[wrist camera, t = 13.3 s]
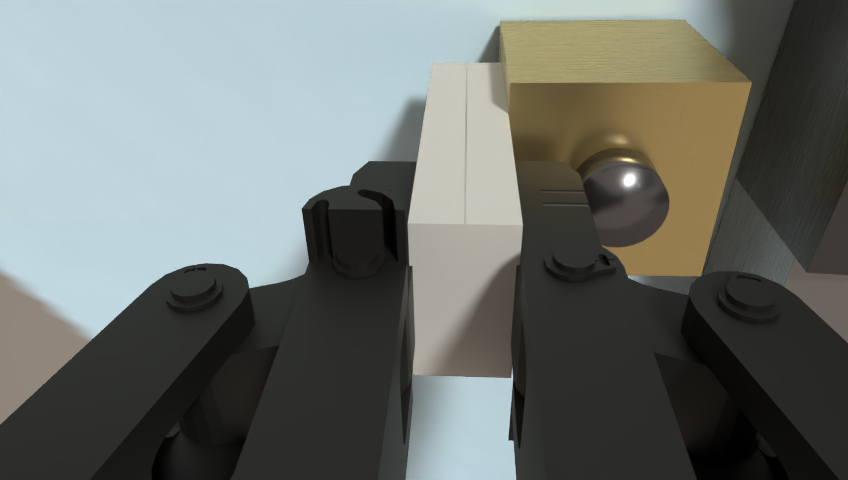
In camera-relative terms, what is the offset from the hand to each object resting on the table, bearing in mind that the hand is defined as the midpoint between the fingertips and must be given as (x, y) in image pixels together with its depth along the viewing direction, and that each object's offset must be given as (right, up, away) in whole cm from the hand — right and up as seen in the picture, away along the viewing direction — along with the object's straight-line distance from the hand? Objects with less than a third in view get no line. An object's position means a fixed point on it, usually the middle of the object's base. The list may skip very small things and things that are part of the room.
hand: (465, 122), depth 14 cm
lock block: (+3, +1, +1) cm, 3 cm away
